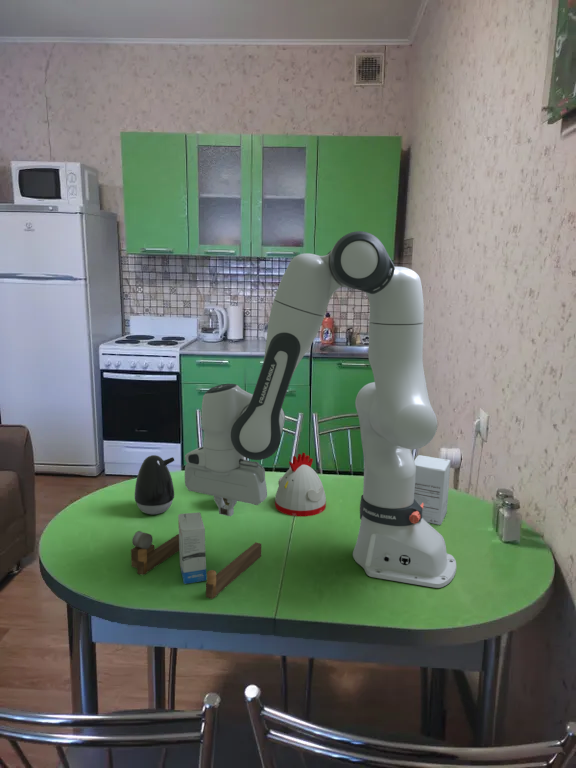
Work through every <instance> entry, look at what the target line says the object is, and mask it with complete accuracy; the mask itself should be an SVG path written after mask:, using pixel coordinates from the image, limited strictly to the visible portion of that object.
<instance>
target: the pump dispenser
mask: <svg viewBox="0 0 576 768" xmlns="http://www.w3.org/2000/svg"><path fill="white" fill-rule="evenodd" d="M173 462H175V457H169V458H167V459H163V458H162V457H161V456H159V455H156V454H154V455H149V456H148V457H146V458H145V459H144V460H143V462H141V463H142V464H141V465H140V468H139V470H138V474H137V476H136V481H135V485H134V486H135V487H134V501H135V503H136V505H137V507H138V509H139V510H140V511H141V512H142V513H144V514H147V515H160V514H162V513H164V512H166V511H168V510H169V508H170V507H171V506H172V504H173V501H174V498H175V488H174V482H173V478H172V476H171V475H172V474H171V472H170V469H169V467H168V465H169V464H171V463H173Z"/></svg>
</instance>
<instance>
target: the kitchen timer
mask: <svg viewBox="0 0 576 768" xmlns="http://www.w3.org/2000/svg"><path fill="white" fill-rule="evenodd" d="M313 461H314V458H312V457H310V455H308V454H306V453H305V452H302V454H301V453H298V454H297V456H295V455H293V456H292V462H291V461H288V463H289V466H290V468H289V469H287V471H286V472H285V473H284V474H283V475H282V476H280V477H279V478H278V481H277V482H278V487H277V490H276V493H275V497H274V507H275V509H276V510H277V511H278V512H279V513H280V512H281V513H282V514H285V515H287V516H292V517H312V516H316V515H319V514H321V513H323V512H324V511H325V510H326V508H327V498H326V492H325V488H324V486H323V482H322V480H321V478H320V477H319V475H318V474H317V472H316V471H315V470H314V469H313V468H312V465H313Z"/></svg>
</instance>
